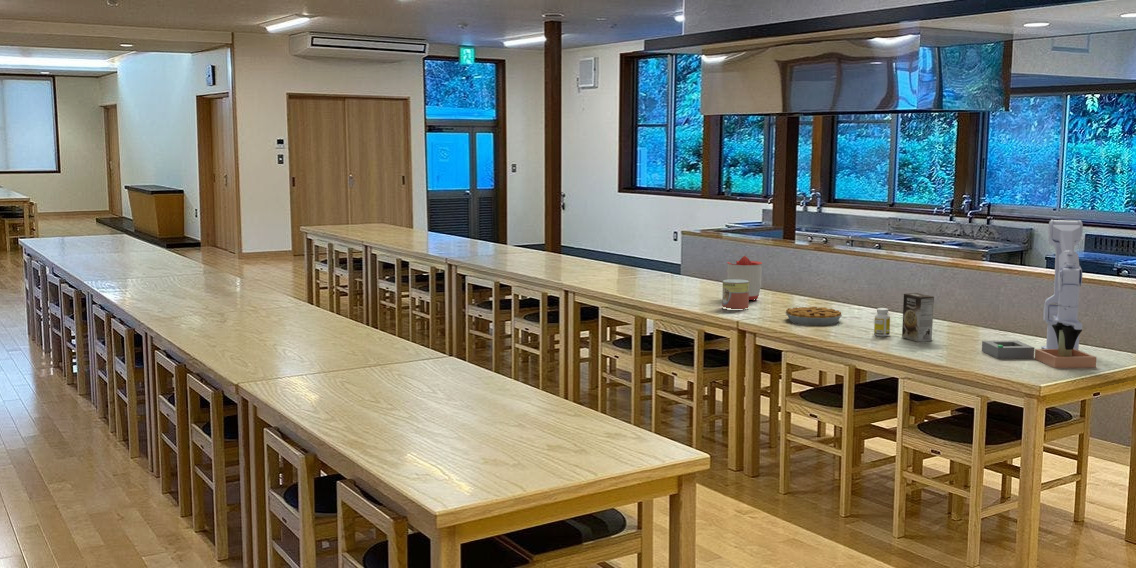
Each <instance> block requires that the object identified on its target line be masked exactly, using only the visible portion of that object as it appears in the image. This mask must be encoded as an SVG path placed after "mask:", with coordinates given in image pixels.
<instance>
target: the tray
mask: <svg viewBox="0 0 1136 568" xmlns="http://www.w3.org/2000/svg"><path fill="white" fill-rule="evenodd" d="M1097 358H1098V357H1097V356H1095V355H1093V354H1090V353H1087V352H1084V351H1082V350H1080V349H1078V350H1077V349H1073V350H1072V356H1071V357H1062V356H1058V349H1043V348H1035V349H1034V360H1035V361H1038V362H1040V361H1041V362H1040V363H1042V362H1043V364H1045V365H1047V366H1050V367H1051V368H1054V369H1070V368H1071V369H1072V368H1074V369H1076V368H1082V369H1083V368H1087V369H1088V368H1097Z"/></svg>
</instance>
